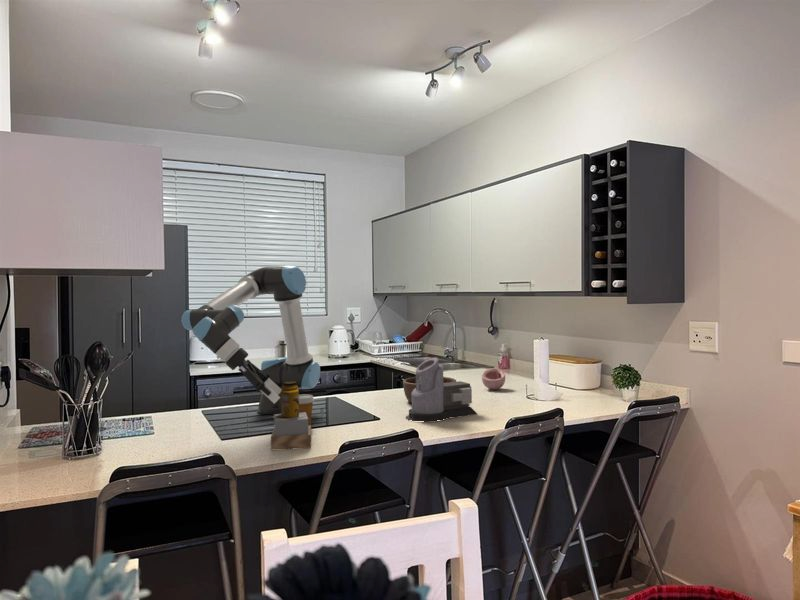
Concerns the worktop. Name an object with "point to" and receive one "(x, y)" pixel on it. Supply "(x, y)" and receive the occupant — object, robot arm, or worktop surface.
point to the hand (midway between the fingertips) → (278, 396)
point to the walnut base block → (291, 440)
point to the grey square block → (291, 425)
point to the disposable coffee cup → (306, 405)
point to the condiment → (289, 401)
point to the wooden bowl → (410, 385)
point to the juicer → (438, 395)
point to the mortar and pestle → (493, 379)
